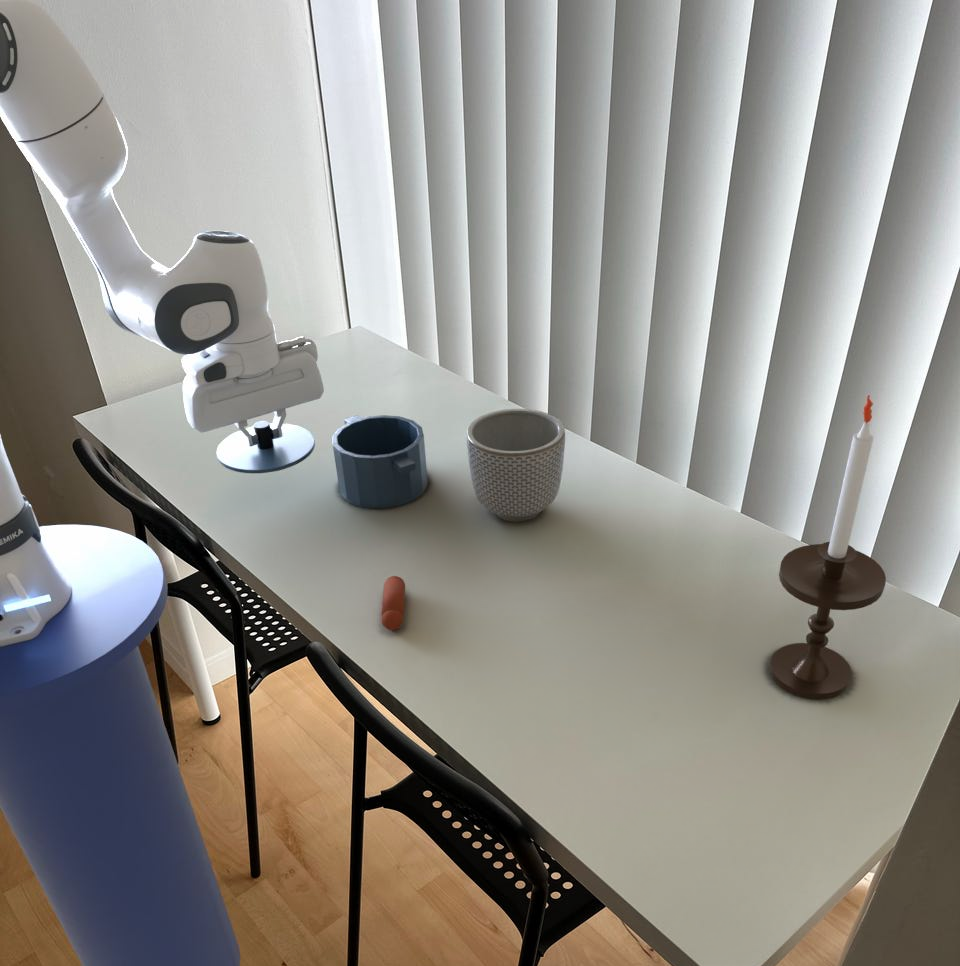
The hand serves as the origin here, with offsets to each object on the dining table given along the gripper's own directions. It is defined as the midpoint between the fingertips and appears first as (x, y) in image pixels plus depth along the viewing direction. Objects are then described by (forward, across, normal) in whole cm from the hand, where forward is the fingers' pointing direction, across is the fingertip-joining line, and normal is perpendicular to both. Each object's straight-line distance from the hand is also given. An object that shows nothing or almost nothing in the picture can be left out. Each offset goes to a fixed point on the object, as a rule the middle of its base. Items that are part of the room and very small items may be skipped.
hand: (264, 440), depth 146 cm
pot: (+9, -15, +8) cm, 19 cm away
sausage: (+9, -2, +38) cm, 39 cm away
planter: (+9, -28, +26) cm, 39 cm away
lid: (+2, 0, 0) cm, 2 cm away
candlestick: (+9, -36, +76) cm, 85 cm away
